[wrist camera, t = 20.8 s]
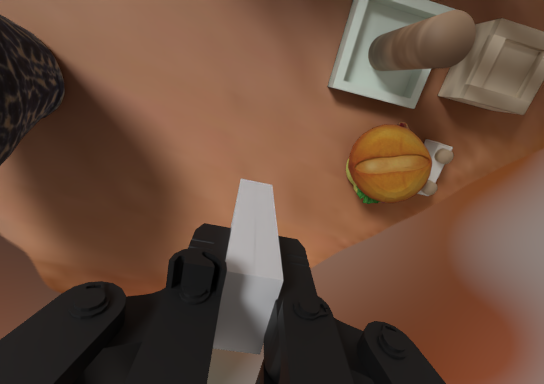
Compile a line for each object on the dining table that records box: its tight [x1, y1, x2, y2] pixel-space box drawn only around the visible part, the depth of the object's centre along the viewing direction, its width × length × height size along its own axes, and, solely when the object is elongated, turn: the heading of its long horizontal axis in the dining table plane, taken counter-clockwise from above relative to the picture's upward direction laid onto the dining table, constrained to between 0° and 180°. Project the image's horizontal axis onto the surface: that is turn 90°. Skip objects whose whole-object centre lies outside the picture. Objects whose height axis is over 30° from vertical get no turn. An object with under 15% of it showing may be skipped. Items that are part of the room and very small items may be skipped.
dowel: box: [368, 10, 476, 71], centre depth 27 cm, size 4×4×12 cm
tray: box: [328, 0, 456, 109], centre depth 32 cm, size 11×11×2 cm
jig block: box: [438, 18, 544, 115], centre depth 32 cm, size 8×8×5 cm
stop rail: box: [417, 139, 453, 196], centre depth 37 cm, size 7×2×4 cm, turn 166°
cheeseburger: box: [346, 122, 432, 204], centre depth 35 cm, size 10×11×10 cm
